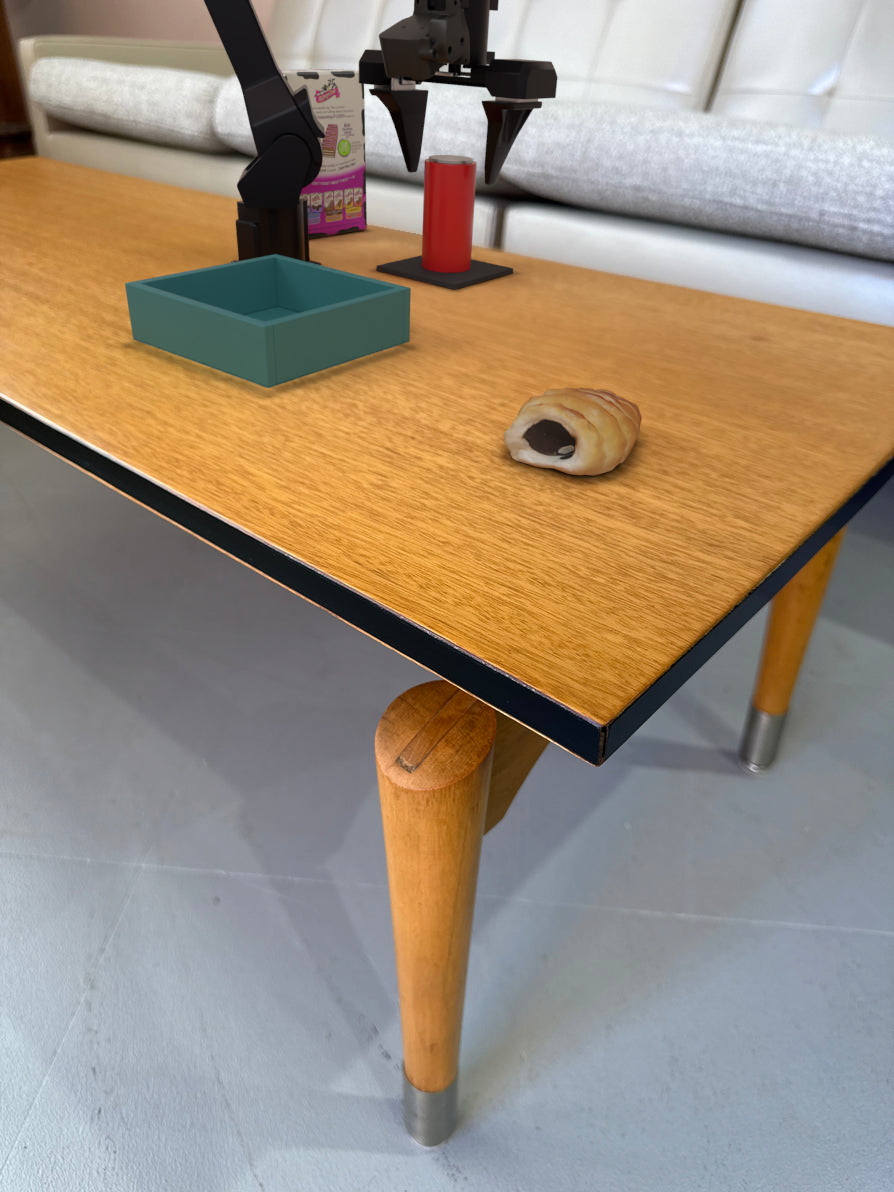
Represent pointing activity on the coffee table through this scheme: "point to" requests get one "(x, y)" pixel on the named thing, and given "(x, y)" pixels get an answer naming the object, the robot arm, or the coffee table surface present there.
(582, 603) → the coffee table surface
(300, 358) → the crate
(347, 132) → the candy bar box
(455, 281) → the mat
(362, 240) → the coffee table surface
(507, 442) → the pastry
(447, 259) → the can
